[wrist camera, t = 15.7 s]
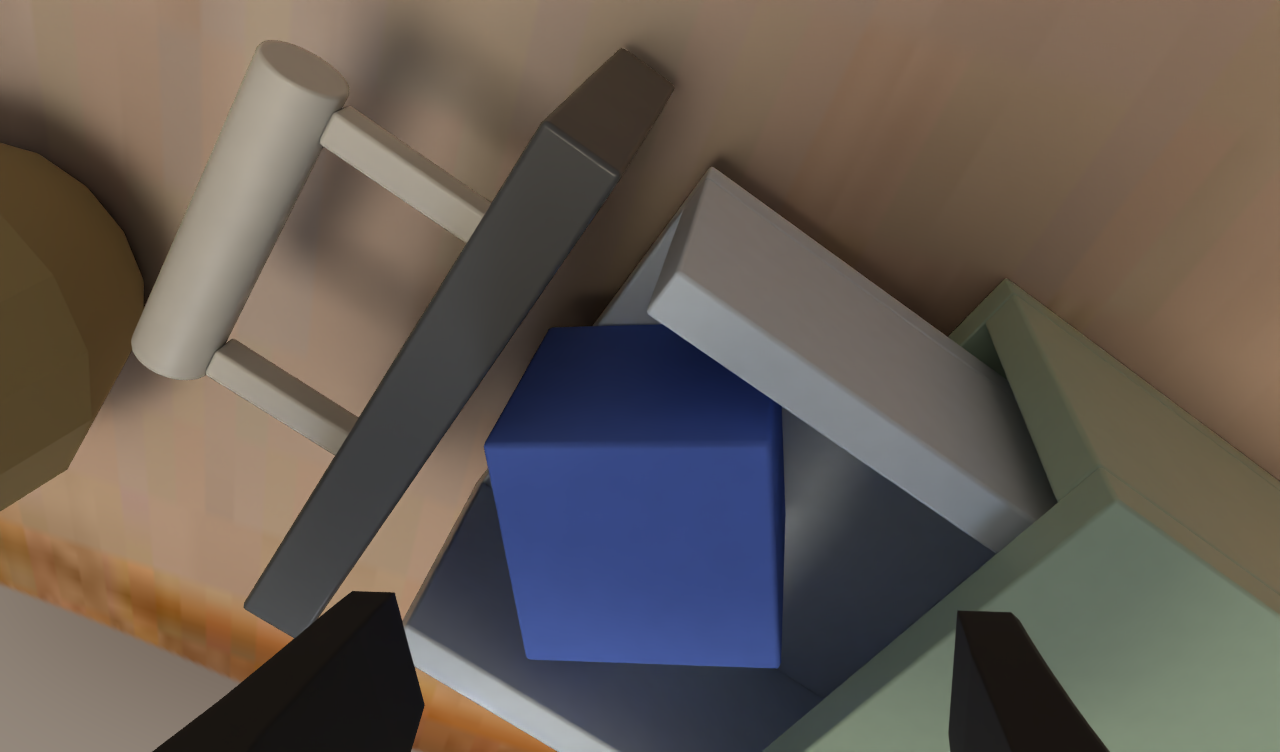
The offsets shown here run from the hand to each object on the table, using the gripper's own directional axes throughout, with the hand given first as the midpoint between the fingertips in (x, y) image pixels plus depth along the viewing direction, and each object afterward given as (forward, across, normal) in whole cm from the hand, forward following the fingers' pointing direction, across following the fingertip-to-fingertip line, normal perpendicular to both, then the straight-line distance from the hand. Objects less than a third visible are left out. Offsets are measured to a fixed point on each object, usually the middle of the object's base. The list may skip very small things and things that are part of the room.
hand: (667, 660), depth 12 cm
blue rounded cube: (+7, +1, +1) cm, 7 cm away
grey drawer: (+8, +1, 0) cm, 8 cm away
